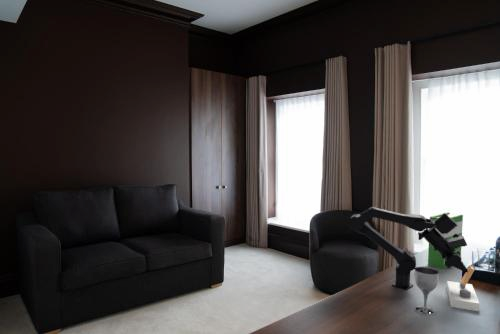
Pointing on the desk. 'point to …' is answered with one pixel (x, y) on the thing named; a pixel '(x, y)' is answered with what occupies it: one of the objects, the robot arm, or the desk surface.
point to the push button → (465, 293)
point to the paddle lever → (466, 277)
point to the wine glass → (426, 286)
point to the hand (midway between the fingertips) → (467, 271)
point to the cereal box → (433, 255)
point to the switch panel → (461, 301)
